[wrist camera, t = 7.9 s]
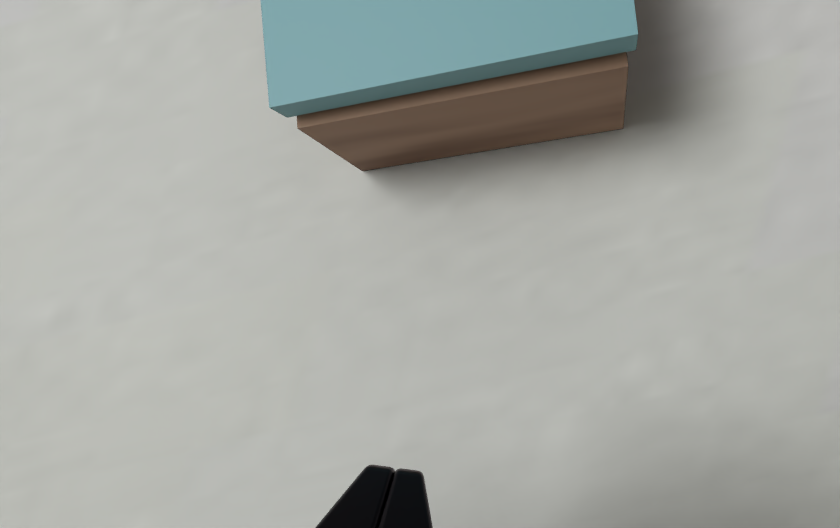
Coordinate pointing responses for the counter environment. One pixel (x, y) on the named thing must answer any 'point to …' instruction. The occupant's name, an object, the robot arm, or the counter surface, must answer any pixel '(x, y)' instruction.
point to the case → (477, 115)
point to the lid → (425, 44)
